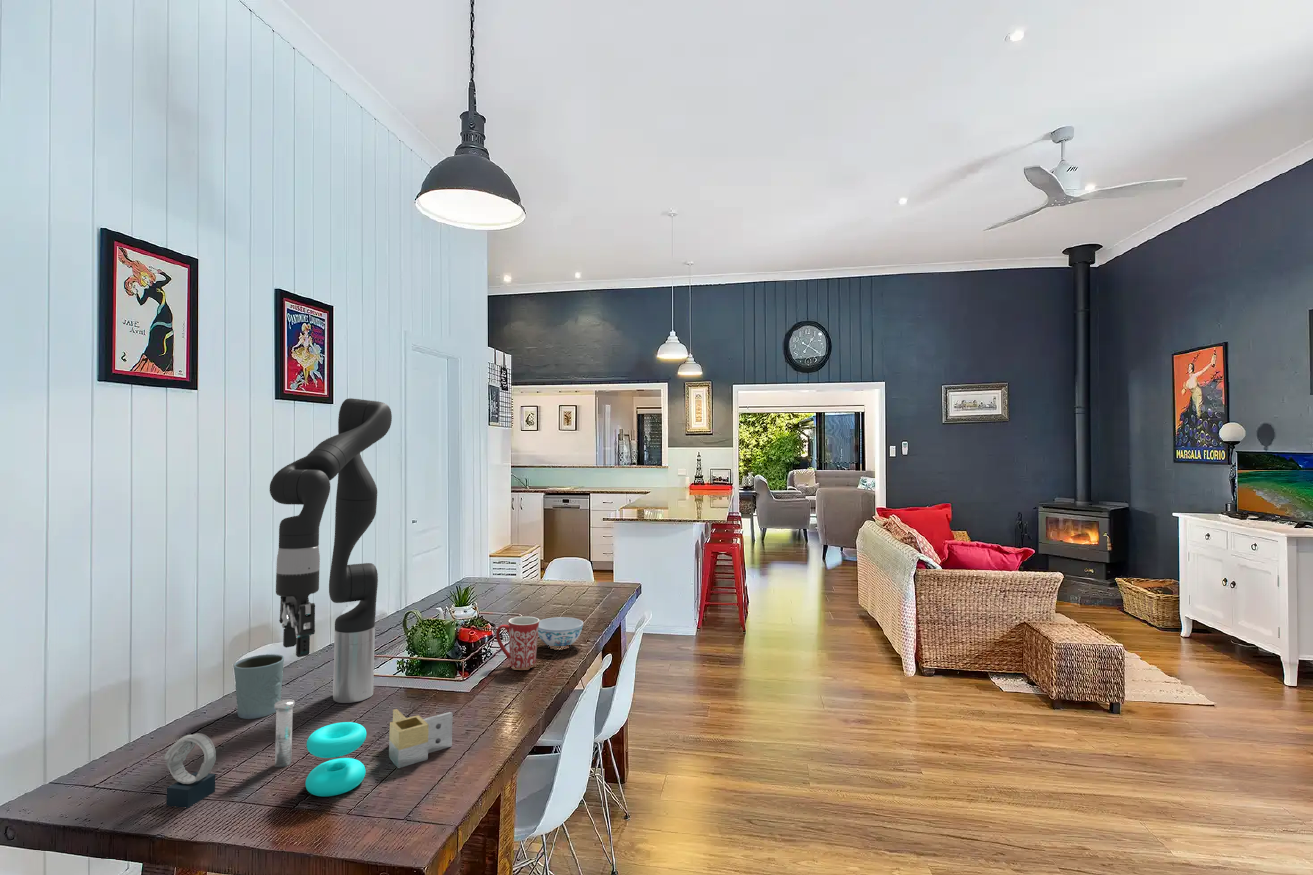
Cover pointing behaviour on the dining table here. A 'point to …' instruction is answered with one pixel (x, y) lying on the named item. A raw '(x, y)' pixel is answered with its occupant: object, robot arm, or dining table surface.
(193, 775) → the watch
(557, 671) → the dining table surface
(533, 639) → the mug
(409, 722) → the bracket
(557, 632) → the chinaware
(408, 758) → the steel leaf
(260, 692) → the embossed green planter pot
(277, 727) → the hinge pin
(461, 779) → the dining table surface
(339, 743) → the donuts
